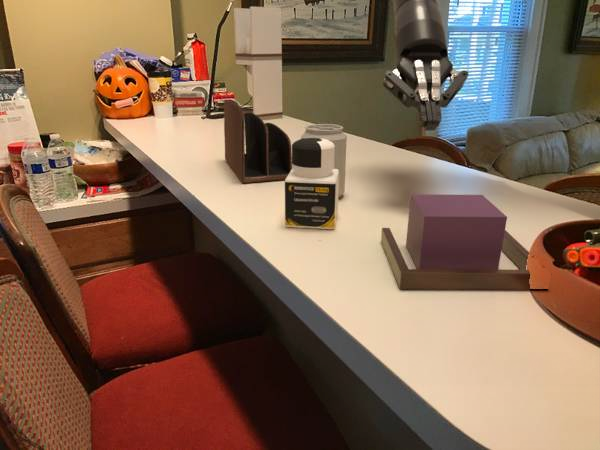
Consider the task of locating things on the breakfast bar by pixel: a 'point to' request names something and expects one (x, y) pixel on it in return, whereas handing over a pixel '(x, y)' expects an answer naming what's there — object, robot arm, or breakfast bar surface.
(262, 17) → the white stepped pillar
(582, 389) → the breakfast bar surface
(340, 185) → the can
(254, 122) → the letter holder
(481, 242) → the block
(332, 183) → the medicine bottle
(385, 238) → the bay
